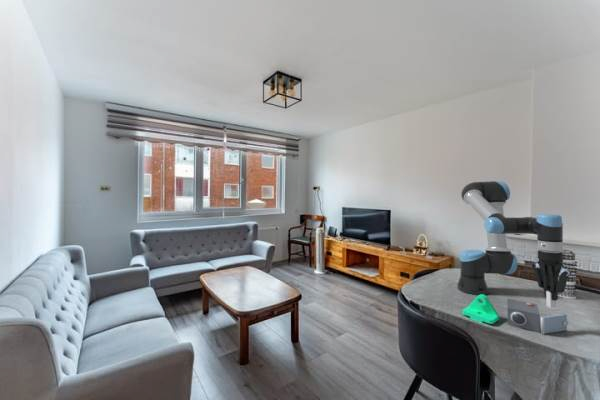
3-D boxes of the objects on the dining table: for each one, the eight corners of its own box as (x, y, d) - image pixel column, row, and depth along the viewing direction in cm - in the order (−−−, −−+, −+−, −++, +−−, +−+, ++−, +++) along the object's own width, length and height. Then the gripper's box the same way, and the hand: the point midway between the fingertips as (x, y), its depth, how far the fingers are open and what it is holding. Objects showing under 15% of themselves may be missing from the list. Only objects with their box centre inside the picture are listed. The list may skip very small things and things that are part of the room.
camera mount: (461, 315, 116) (461, 294, 116) (469, 311, 120) (469, 290, 120) (491, 326, 106) (491, 303, 106) (499, 321, 110) (498, 298, 110)
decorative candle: (581, 300, 128) (580, 252, 128) (556, 297, 133) (555, 251, 133) (573, 294, 136) (573, 249, 136) (550, 291, 141) (550, 248, 141)
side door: (539, 332, 100) (539, 316, 100) (564, 329, 102) (564, 313, 102) (543, 334, 99) (543, 318, 98) (568, 331, 101) (568, 315, 101)
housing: (507, 326, 106) (507, 307, 106) (507, 314, 116) (507, 297, 116) (540, 334, 99) (540, 314, 99) (537, 320, 109) (537, 302, 109)
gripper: (526, 248, 109) (527, 301, 109) (561, 254, 97) (562, 314, 97) (539, 247, 111) (540, 299, 111) (576, 253, 98) (578, 312, 98)
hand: (551, 306), depth 104 cm, fingers closed
